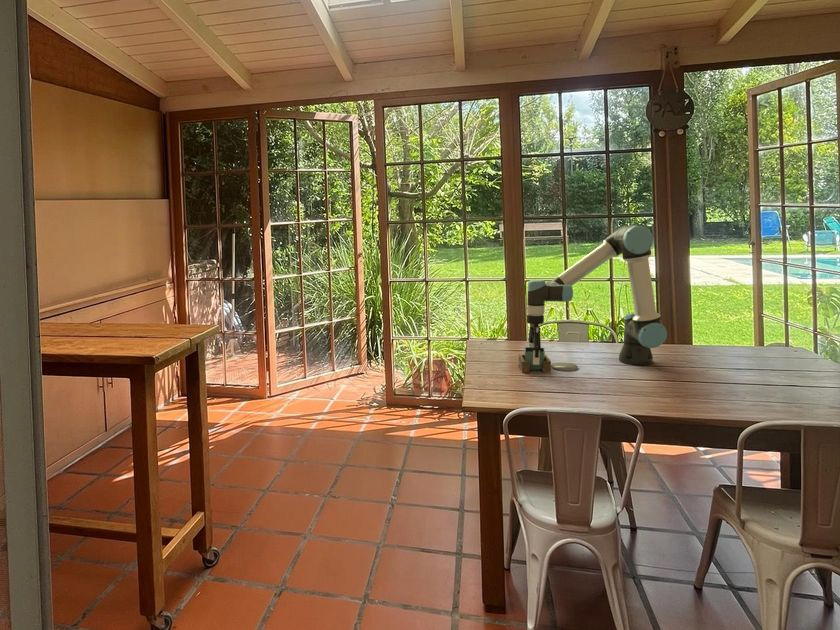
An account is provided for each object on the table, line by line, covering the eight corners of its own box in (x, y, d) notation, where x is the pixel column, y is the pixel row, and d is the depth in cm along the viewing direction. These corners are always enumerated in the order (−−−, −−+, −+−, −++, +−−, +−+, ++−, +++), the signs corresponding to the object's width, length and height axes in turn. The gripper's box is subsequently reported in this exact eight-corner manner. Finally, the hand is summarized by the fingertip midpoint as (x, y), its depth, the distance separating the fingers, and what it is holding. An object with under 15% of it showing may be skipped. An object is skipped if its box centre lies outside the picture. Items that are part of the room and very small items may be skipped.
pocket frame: (545, 365, 248) (545, 354, 247) (550, 372, 236) (550, 361, 235) (518, 365, 249) (518, 354, 248) (521, 372, 237) (522, 361, 236)
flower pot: (544, 371, 237) (544, 352, 236) (524, 371, 239) (524, 351, 238) (543, 366, 246) (544, 347, 244) (524, 365, 248) (524, 347, 246)
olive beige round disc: (574, 364, 249) (574, 362, 249) (580, 371, 237) (580, 369, 237) (548, 364, 250) (548, 362, 250) (553, 371, 238) (553, 369, 238)
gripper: (523, 309, 251) (521, 353, 254) (531, 319, 226) (529, 367, 230) (539, 309, 250) (537, 353, 254) (548, 319, 226) (546, 367, 229)
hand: (533, 360), depth 242 cm, fingers open, 13 cm apart
